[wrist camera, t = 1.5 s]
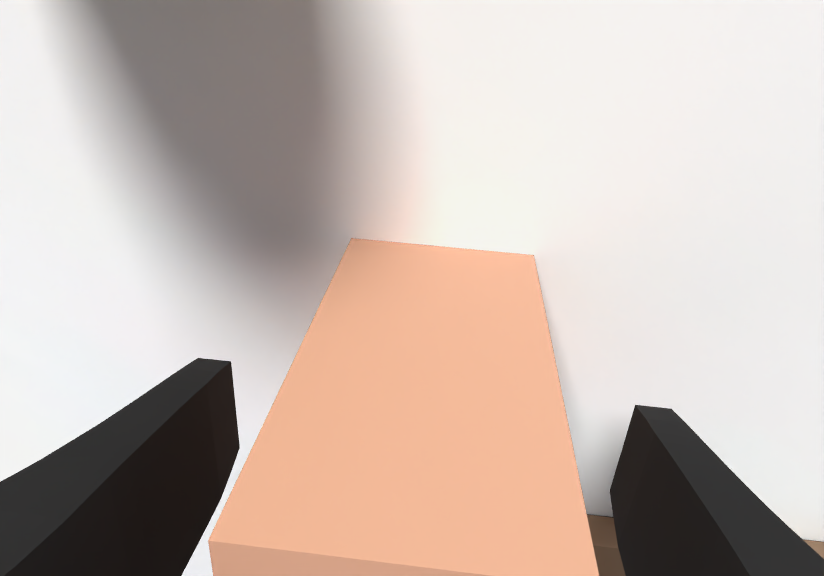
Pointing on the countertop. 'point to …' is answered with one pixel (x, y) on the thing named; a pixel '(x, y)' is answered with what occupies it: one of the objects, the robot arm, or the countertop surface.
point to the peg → (415, 431)
